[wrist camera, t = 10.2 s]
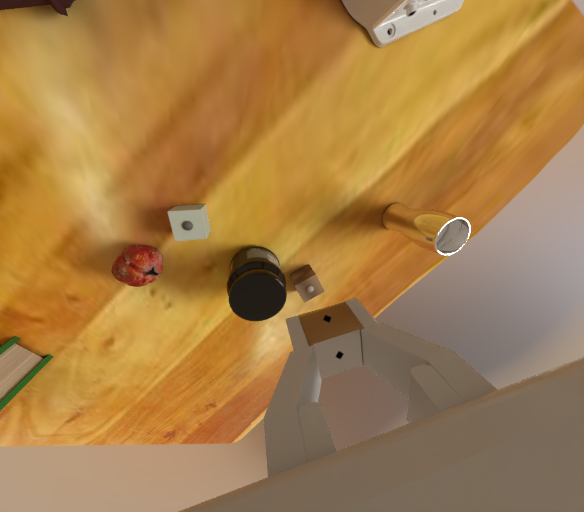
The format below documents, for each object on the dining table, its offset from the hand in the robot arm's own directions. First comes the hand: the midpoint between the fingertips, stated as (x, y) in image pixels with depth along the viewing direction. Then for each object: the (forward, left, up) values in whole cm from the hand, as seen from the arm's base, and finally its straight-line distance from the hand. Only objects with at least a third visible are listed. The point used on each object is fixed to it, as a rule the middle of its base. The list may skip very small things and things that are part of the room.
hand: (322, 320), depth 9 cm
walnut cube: (-5, +20, -35) cm, 41 cm away
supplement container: (+5, +14, -35) cm, 38 cm away
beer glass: (-28, +11, -35) cm, 46 cm away
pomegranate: (+24, +6, -35) cm, 43 cm away
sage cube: (+13, +1, -35) cm, 38 cm away
